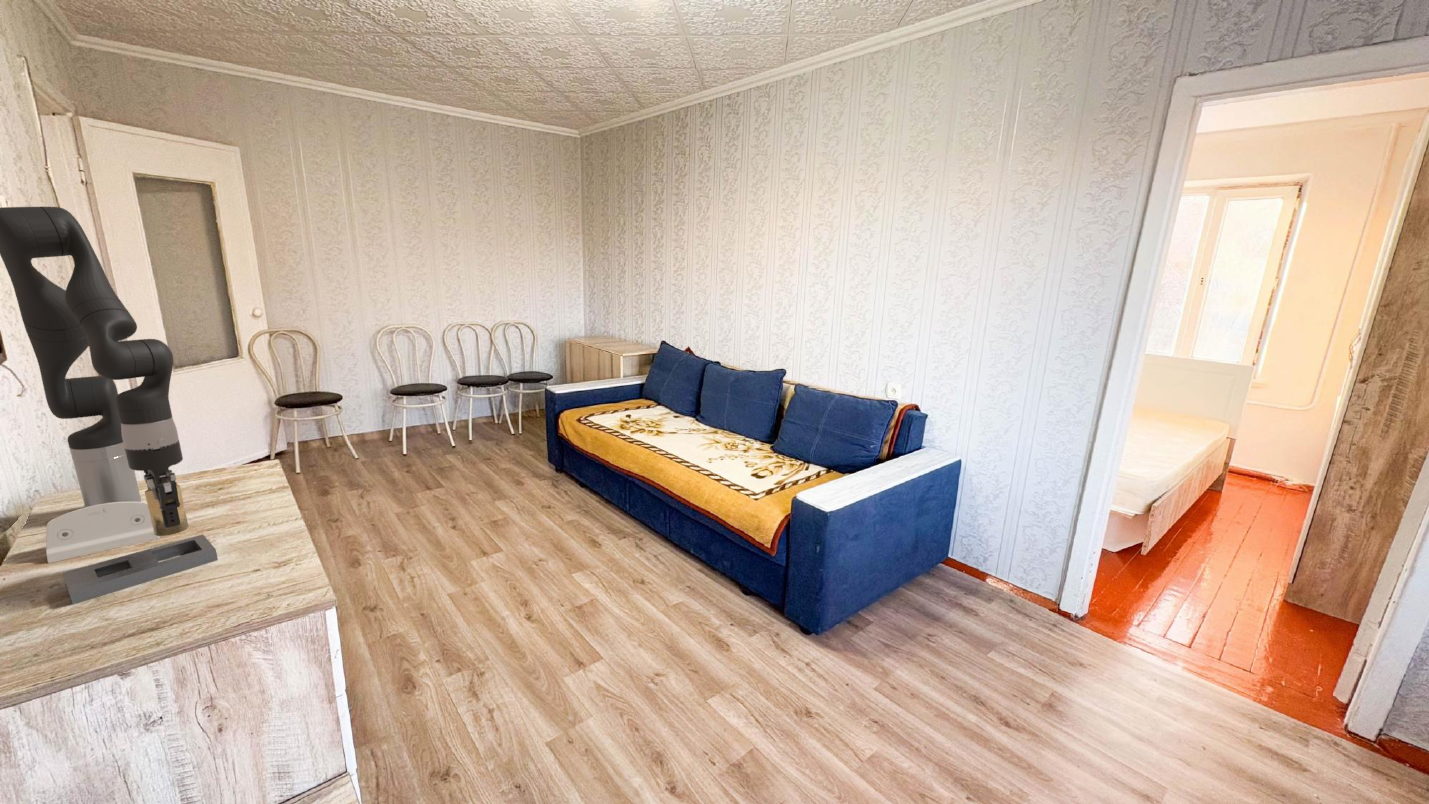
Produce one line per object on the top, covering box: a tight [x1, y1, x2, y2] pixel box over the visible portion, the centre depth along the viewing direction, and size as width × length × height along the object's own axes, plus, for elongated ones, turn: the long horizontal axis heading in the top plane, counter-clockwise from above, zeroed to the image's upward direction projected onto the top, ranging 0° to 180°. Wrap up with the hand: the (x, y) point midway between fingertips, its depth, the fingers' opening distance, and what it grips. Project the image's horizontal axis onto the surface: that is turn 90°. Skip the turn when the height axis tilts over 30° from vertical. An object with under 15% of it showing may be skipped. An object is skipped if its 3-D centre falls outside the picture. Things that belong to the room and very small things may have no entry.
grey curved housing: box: [45, 501, 160, 564], centre depth 118 cm, size 17×5×10 cm, turn 134°
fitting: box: [144, 484, 189, 537], centre depth 110 cm, size 5×5×9 cm
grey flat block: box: [62, 534, 219, 605], centre depth 109 cm, size 10×20×2 cm, turn 144°
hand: (169, 521), depth 110 cm, fingers closed on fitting, 5 cm apart
